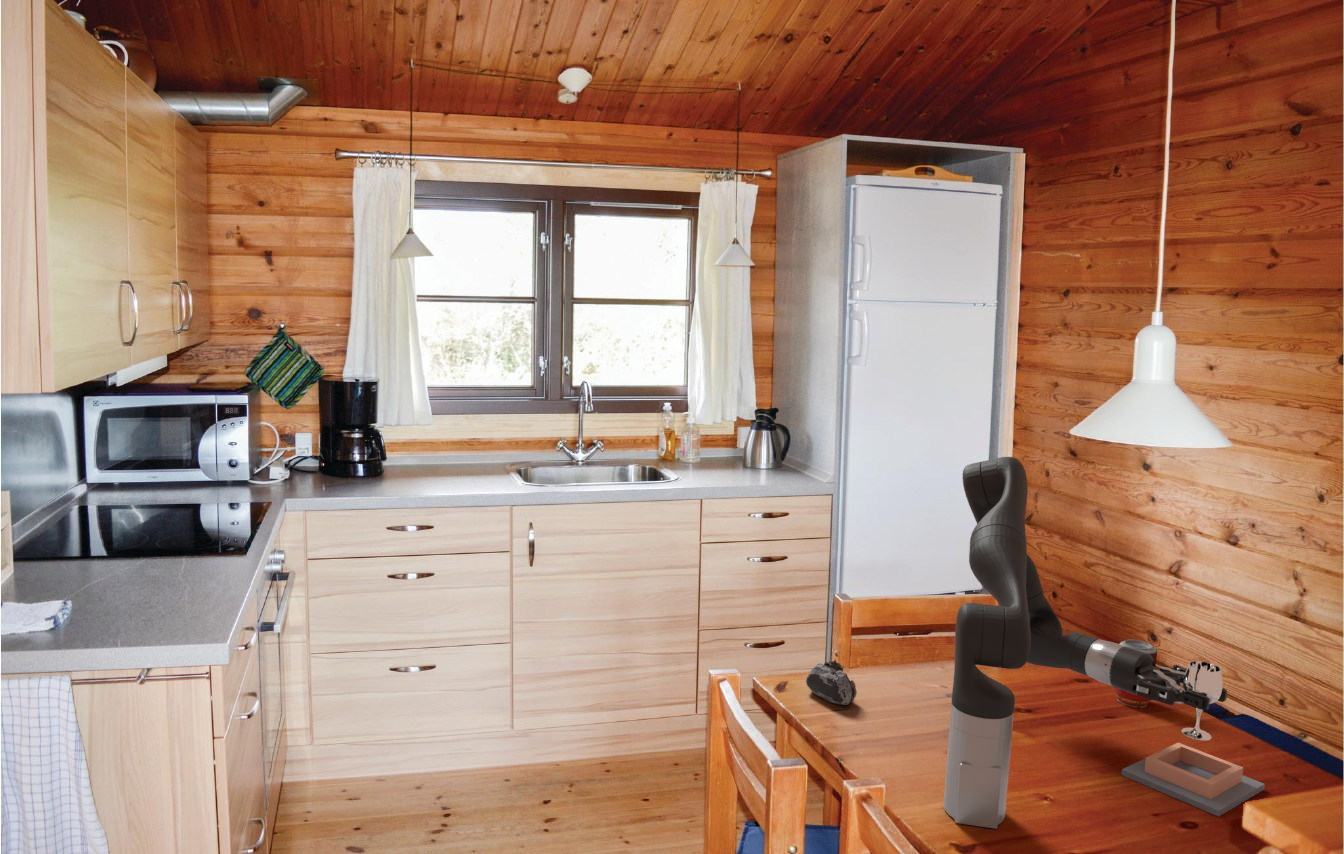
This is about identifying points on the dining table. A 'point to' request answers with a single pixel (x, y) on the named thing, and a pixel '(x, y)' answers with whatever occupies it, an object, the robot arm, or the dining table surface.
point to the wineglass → (1202, 690)
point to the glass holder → (1195, 778)
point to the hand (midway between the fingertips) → (1216, 700)
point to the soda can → (1128, 697)
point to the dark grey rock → (831, 683)
